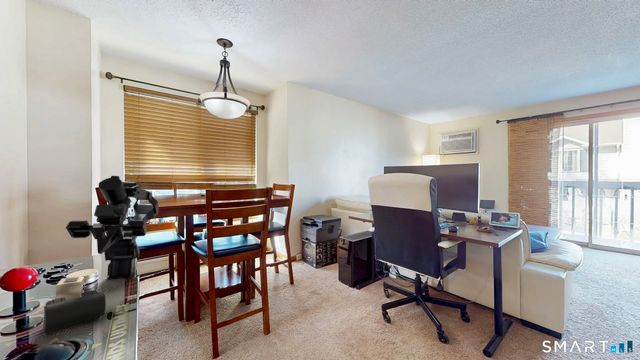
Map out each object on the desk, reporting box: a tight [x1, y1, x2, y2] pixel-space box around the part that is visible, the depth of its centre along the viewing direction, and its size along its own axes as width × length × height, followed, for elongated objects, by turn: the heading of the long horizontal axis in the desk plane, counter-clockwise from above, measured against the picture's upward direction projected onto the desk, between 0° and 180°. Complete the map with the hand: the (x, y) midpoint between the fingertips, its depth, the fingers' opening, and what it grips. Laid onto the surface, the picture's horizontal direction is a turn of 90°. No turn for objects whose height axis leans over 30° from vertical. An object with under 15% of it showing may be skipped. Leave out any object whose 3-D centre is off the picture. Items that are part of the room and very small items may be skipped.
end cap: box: [42, 289, 107, 336], centre depth 58 cm, size 10×7×7 cm
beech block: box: [55, 276, 85, 300], centre depth 71 cm, size 5×5×5 cm
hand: (99, 253), depth 70 cm, fingers closed
